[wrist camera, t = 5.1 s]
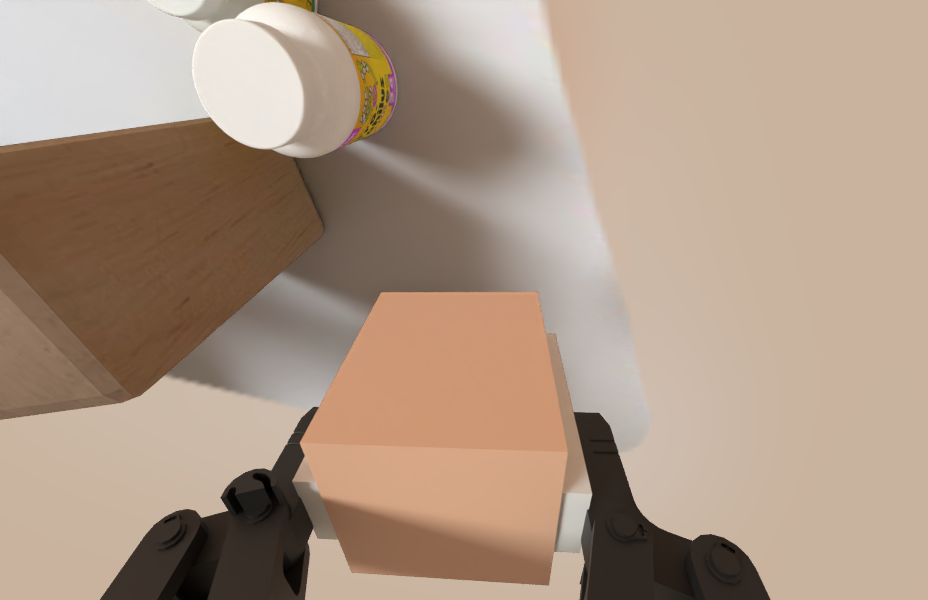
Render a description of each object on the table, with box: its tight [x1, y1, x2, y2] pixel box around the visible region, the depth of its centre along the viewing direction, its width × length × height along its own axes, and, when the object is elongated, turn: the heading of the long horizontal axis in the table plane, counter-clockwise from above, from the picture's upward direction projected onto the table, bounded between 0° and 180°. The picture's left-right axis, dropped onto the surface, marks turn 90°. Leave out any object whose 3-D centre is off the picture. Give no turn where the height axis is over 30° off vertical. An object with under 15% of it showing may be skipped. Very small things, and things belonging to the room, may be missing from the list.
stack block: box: [300, 292, 568, 585], centre depth 13 cm, size 6×6×7 cm
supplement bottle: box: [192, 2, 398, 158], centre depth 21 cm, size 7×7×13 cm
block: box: [0, 117, 324, 420], centre depth 22 cm, size 10×10×20 cm
